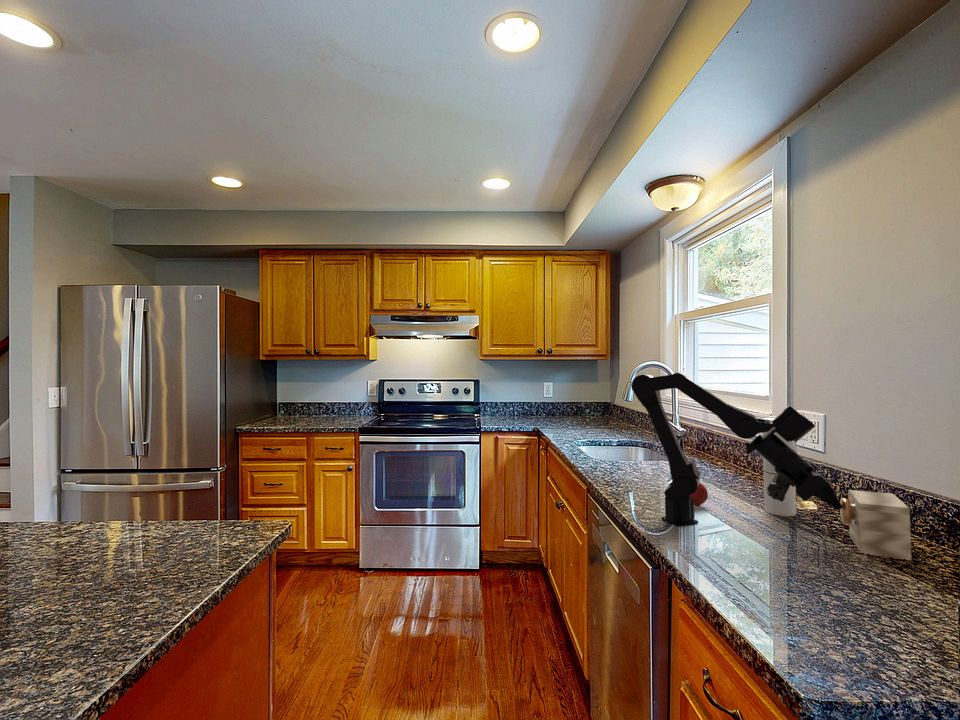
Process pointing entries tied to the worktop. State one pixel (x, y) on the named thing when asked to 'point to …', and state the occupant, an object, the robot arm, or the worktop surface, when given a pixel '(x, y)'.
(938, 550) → the worktop surface
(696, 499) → the onion
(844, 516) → the peg
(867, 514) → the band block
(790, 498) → the cylindrical container
